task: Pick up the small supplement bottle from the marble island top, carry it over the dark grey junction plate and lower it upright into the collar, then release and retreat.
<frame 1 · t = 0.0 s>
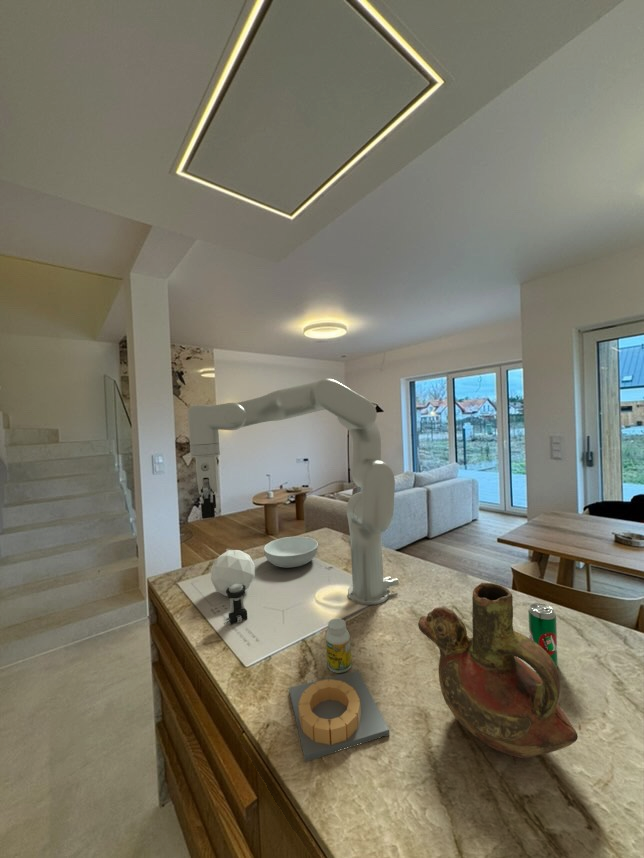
hand: (209, 513, 95), 31 cm above the kitchen island, fingers open, 9 cm apart
supplement bottle: (339, 666, 78), on the kitchen island
collar: (330, 720, 64), resting on junction plate
ceramic vessel: (488, 727, 61), on the kitchen island
soda can: (543, 663, 76), on the kitchen island
push button: (235, 621, 98), on the kitchen island
junction plate: (335, 712, 66), on the kitchen island
serving bowl: (292, 563, 135), on the kitchen island
geodesic sphere: (234, 593, 114), on the kitchen island
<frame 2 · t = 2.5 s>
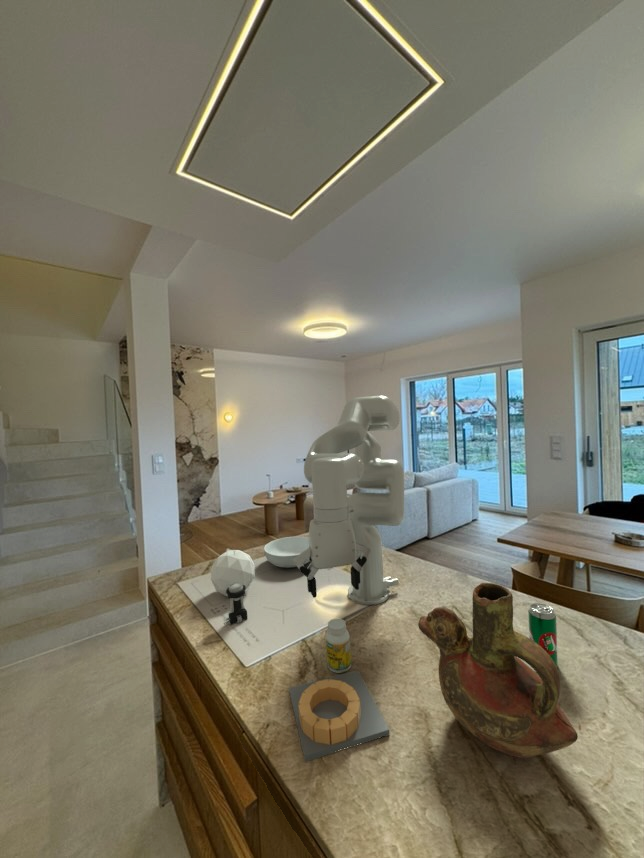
hand: (334, 590, 77), 17 cm above the kitchen island, fingers open, 9 cm apart
nothing on the kitchen island moved.
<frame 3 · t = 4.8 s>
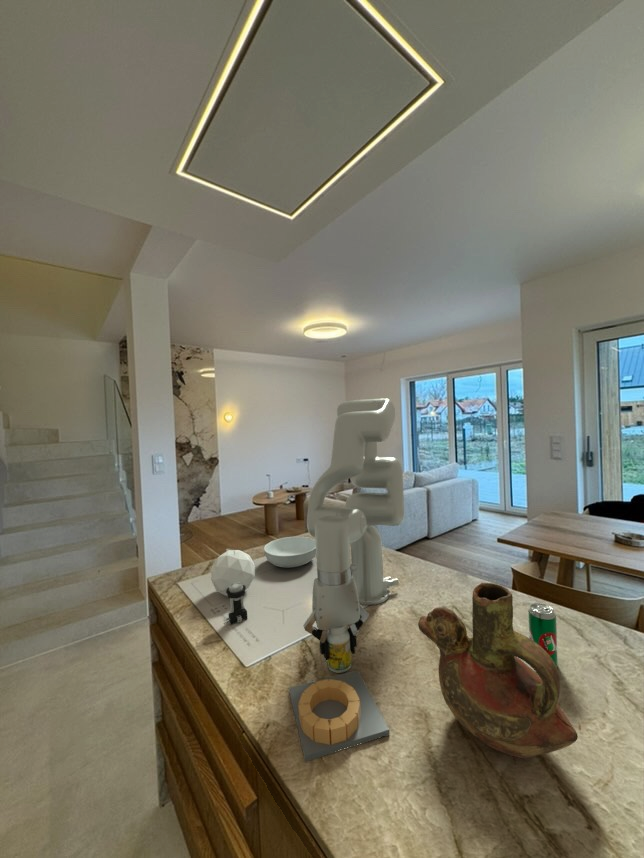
hand: (338, 652, 78), 3 cm above the kitchen island, fingers closed on supplement bottle, 5 cm apart
supplement bottle: (339, 666, 78), on the kitchen island, touching gripper
everything else where it was.
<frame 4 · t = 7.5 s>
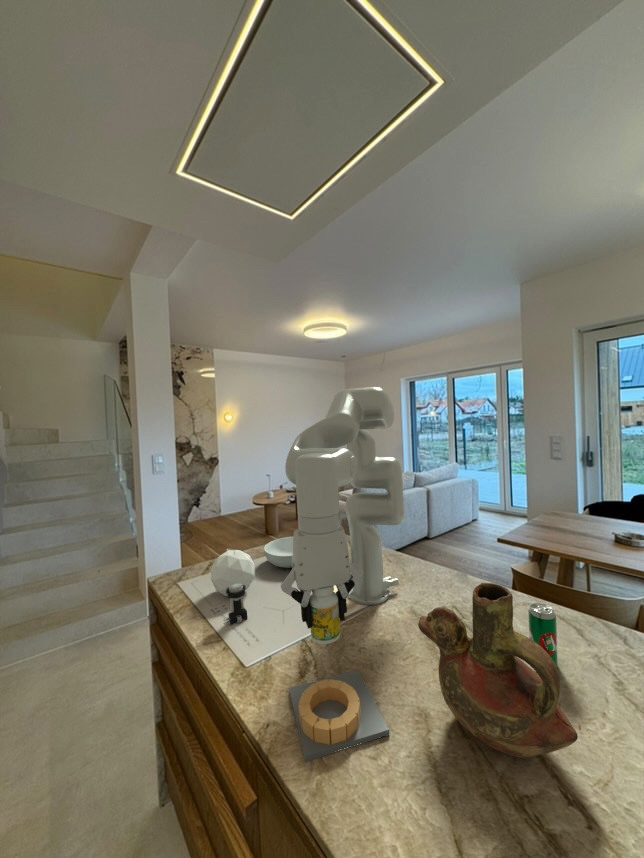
hand: (324, 619, 63), 19 cm above the kitchen island, fingers closed on supplement bottle, 5 cm apart
supplement bottle: (325, 636, 64), point 16 cm above the kitchen island, touching gripper
everything else where it was.
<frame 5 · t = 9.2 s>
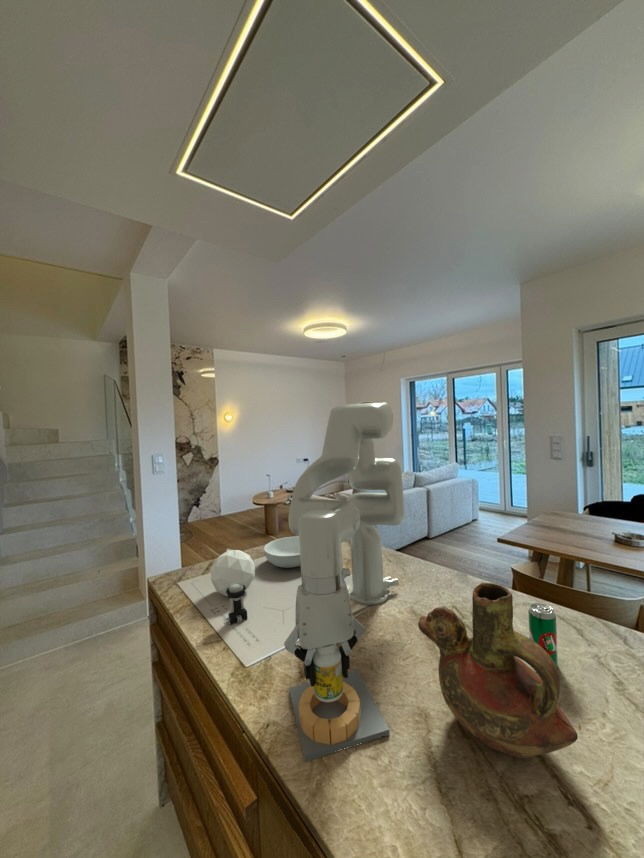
hand: (327, 675, 64), 9 cm above the kitchen island, fingers closed on supplement bottle, 5 cm apart
supplement bottle: (328, 692, 64), point 5 cm above the kitchen island, touching gripper
everything else where it was.
when the fingers open (6 cm above the kitchen island, at t = 10.6 s): supplement bottle drops 2 cm, resting on junction plate.
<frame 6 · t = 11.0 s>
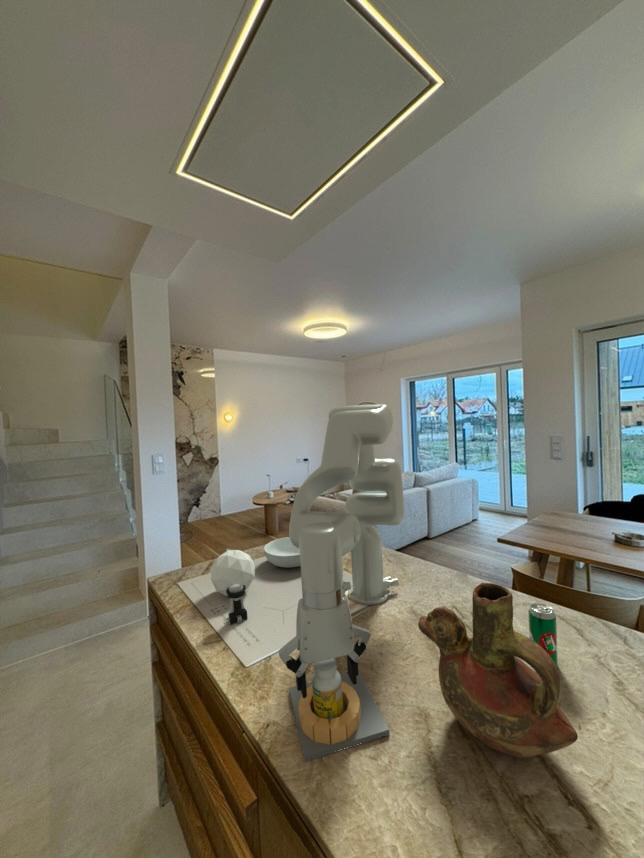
hand: (328, 685, 64), 7 cm above the kitchen island, fingers open, 9 cm apart
supplement bottle: (329, 715, 64), point 1 cm above the kitchen island, touching junction plate
everything else where it was.
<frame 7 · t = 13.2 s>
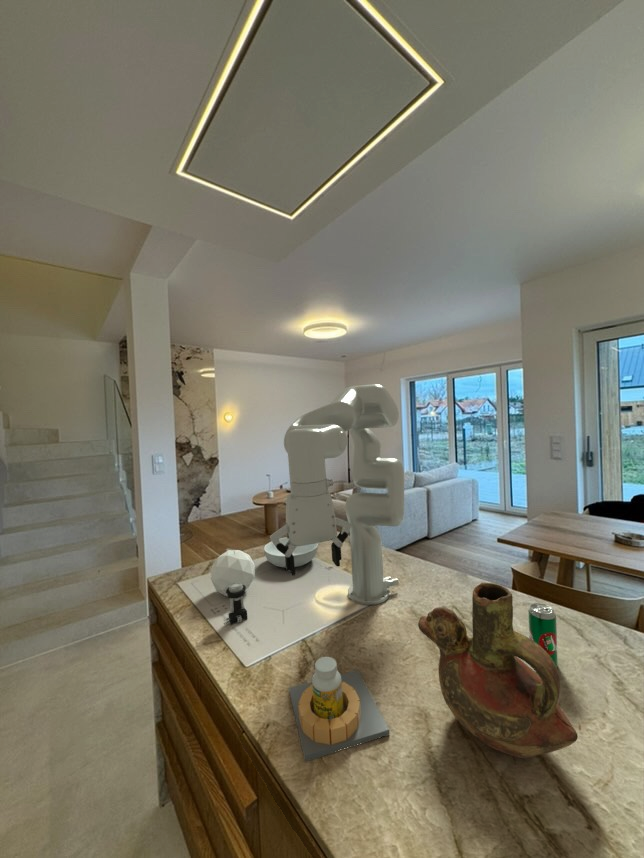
hand: (314, 568, 73), 24 cm above the kitchen island, fingers open, 9 cm apart
nothing on the kitchen island moved.
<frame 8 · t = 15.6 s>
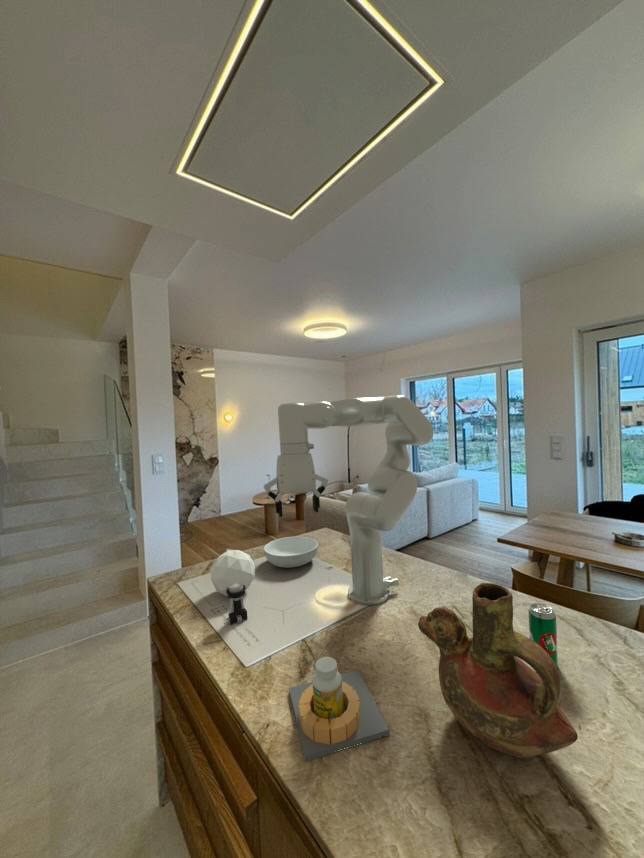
hand: (298, 513, 93), 30 cm above the kitchen island, fingers open, 9 cm apart
nothing on the kitchen island moved.
at the end: supplement bottle 0.2 cm off-centre on the collar, point 0.8 cm above the collar's base; supplement bottle tilted 0°; the gripper is holding nothing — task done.
